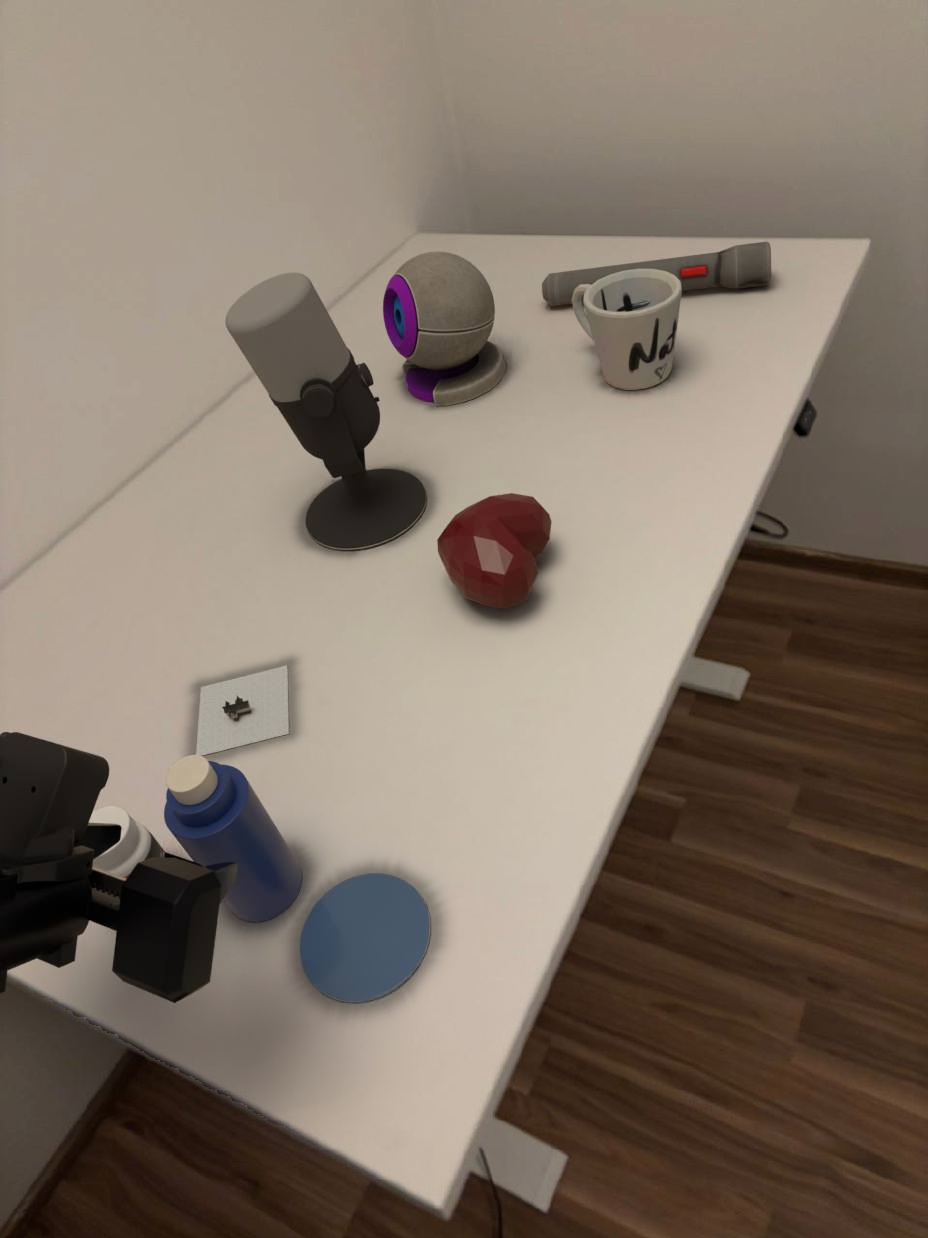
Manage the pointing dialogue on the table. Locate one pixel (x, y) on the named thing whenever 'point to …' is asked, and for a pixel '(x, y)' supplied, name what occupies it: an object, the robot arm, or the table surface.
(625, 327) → the mug
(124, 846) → the pill bottle
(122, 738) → the table surface
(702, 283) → the flashlight
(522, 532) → the heart
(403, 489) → the microphone
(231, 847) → the blue bottle
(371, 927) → the blue coaster
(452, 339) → the webcam
